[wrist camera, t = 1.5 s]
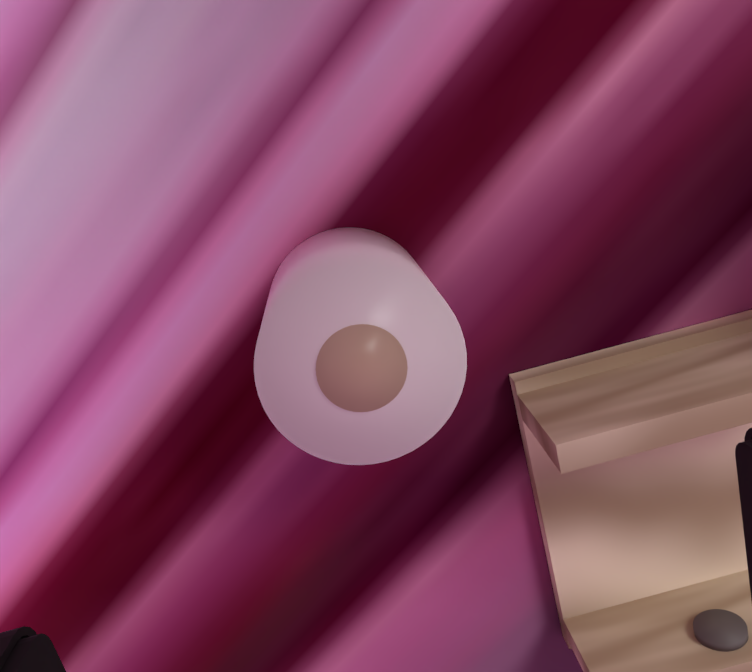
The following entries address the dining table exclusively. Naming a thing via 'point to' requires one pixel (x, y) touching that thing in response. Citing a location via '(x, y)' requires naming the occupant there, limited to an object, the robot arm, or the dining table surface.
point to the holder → (645, 497)
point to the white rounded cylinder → (357, 350)
